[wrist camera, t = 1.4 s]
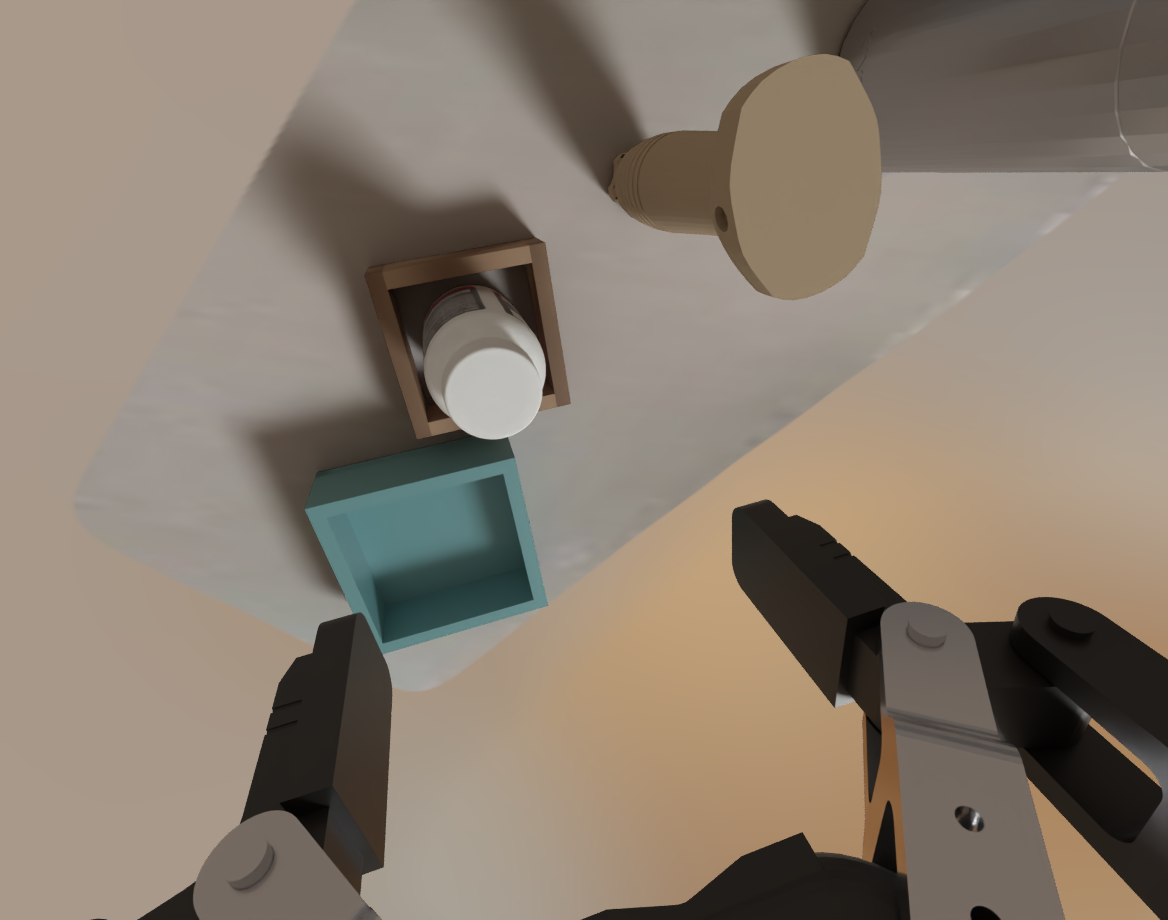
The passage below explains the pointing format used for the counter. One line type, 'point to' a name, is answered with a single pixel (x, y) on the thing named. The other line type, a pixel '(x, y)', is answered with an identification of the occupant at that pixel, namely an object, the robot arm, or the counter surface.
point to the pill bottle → (482, 362)
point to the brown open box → (454, 265)
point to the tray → (429, 539)
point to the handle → (770, 177)
